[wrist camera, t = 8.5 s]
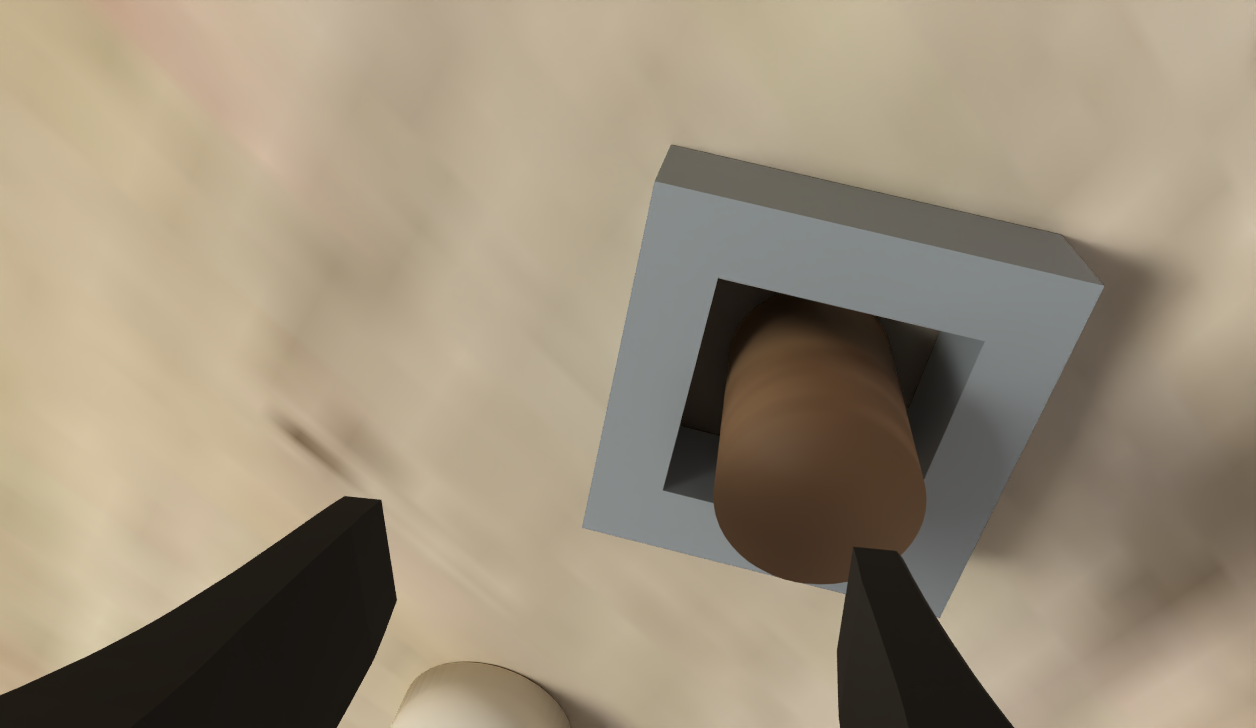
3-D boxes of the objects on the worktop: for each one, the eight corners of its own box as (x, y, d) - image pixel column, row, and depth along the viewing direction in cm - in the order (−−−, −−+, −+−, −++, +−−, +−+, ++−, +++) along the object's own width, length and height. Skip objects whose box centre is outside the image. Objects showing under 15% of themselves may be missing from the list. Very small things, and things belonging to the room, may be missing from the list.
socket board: (1061, 234, 20) (1104, 285, 17) (922, 539, 24) (939, 617, 21) (671, 144, 20) (654, 181, 18) (603, 460, 24) (582, 527, 22)
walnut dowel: (922, 328, 21) (969, 466, 16) (841, 453, 23) (860, 612, 18) (772, 262, 21) (769, 379, 16) (703, 393, 23) (681, 536, 18)
